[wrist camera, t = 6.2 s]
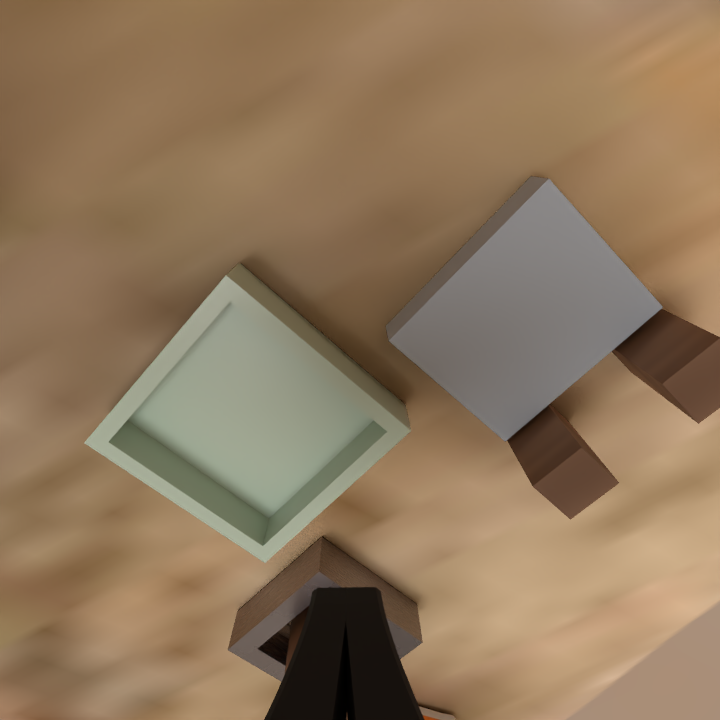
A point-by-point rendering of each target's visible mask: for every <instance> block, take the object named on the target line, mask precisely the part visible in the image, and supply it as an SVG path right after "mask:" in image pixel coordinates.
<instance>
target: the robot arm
mask: <svg viewBox="0 0 720 720" xmlns="http://www.w3.org/2000/svg"><path fill="white" fill-rule="evenodd" d="M347 718H348V720H425V719H424V717H423V715H422V713H421V710H420V708H419V706H418V703H417V701H416V699H415V696H414V694H413V691H412V689H411V686H410V684H409V681H408V679H407V676H406V674H405V671H404V669H403V666H402V664H401V661H400V658H399V655H398V653H397V650H396V647H395V644H394V641H393V638H392V635H391V632H390V628H389V625H388V622H387V618H386V614H385V610H384V606H383V601H382V595H381V591H380V590H379V589H378V588H376V587H333V588H316V589H315V590H314V591H313V592H312V595H311V600H310V605H309V608H308V612H307V615H306V619H305V622H304V625H303V628H302V631H301V634H300V637H299V639H298V642H297V645H296V648H295V650H294V653H293V655H292V658H291V660H290V663H289V665H288V668H287V670H286V672H285V675H284V677H283V680H282V682H281V685H280V687H279V689H278V692H277V694H276V696H275V698H274V700H273V703H272V705H271V707H270V709H269V711H268V713H267V715H266V717H265V719H264V720H346V719H347Z"/></svg>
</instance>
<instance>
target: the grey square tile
mask: <svg viewBox="0 0 720 720" xmlns="http://www.w3.org/2000/svg"><path fill="white" fill-rule="evenodd" d="M662 308H663V306H662V305H661V304H660V303H659V302H658V301H657V300H656V299H655V297H654V296H653V295H652V294H651V293H650V292H649V291H648V290H647V288H646V287H645V286H644V285H643V284H642V283H641V282H640V281H639V279H638V278H637V277H636V276H635V275H634V274H633V273H632V272H631V270H630V269H629V268H628V267H627V266H626V265H625V264H624V263H623V261H622V260H621V259H620V258H619V257H618V256H617V255H616V254H615V252H614V251H613V250H612V249H611V248H610V247H609V246H608V245H607V243H606V242H605V241H604V240H603V239H602V238H601V237H600V236H599V234H598V233H597V232H596V231H595V230H594V229H593V228H592V227H591V225H590V224H589V223H588V222H587V221H586V220H585V219H584V218H583V216H582V215H581V214H580V213H579V212H578V211H577V210H576V209H575V207H574V206H573V205H572V204H571V203H570V202H569V201H568V200H567V198H566V197H565V196H564V195H563V194H562V193H561V192H560V191H559V189H558V188H557V187H556V186H555V185H554V184H553V183H552V182H551V180H550V179H548V178H540V177H533V176H531V177H530V178H529V179H528V180H527V181H526V182H525V183H524V184H523V185H522V186H521V187H520V188H519V189H518V190H517V191H516V192H515V193H514V194H513V195H512V196H511V197H510V198H509V199H508V200H507V201H506V202H505V203H504V205H503V206H502V207H501V208H500V209H499V210H498V211H497V212H496V213H495V214H494V215H493V216H492V217H491V218H490V219H489V220H488V221H487V222H486V223H485V224H484V225H483V226H482V227H481V228H480V229H479V230H478V231H477V232H476V233H475V234H474V235H473V236H472V238H471V239H470V240H469V241H468V242H467V243H466V244H465V245H464V246H463V247H462V248H461V249H460V250H459V251H458V252H457V253H456V254H455V255H454V256H453V257H452V258H451V259H450V260H449V261H448V262H447V263H446V264H445V265H444V266H443V267H442V268H441V269H440V271H439V272H438V273H437V274H436V275H435V276H434V277H433V278H432V279H431V280H430V281H429V282H428V283H427V284H426V285H425V286H424V287H423V288H422V289H421V290H420V291H419V292H418V293H417V294H416V295H415V296H414V297H413V298H412V299H411V300H410V301H409V302H408V303H407V305H406V306H405V307H404V308H403V309H402V310H401V311H400V312H399V313H398V314H397V315H396V316H395V317H394V318H393V319H392V320H391V321H390V322H389V323H388V324H387V325H386V330H387V335H388V340H389V342H390V343H392V344H393V345H394V346H395V347H396V348H397V349H399V350H400V351H401V352H402V353H403V354H404V355H406V356H407V357H408V358H409V359H410V360H411V361H412V362H414V363H415V364H416V365H417V366H418V367H419V368H421V369H422V370H423V371H424V372H425V373H426V374H427V375H429V376H430V377H431V378H432V379H433V380H434V381H436V382H437V383H438V384H439V385H440V386H441V387H443V388H444V389H445V390H446V391H447V392H448V393H449V394H451V395H452V396H453V397H454V398H455V399H456V400H458V401H459V402H460V403H461V404H462V405H463V406H465V407H466V408H467V409H468V410H469V411H470V412H471V413H473V414H474V415H475V416H476V417H477V418H478V419H480V420H481V421H482V422H483V423H484V424H485V425H486V426H488V427H489V428H490V429H491V430H492V431H493V432H495V433H496V434H497V435H498V436H499V437H500V438H502V439H503V440H504V441H507V440H508V439H509V438H510V437H511V436H512V435H514V434H515V433H516V432H517V431H518V430H520V429H521V428H522V427H523V426H524V425H525V424H527V423H528V422H529V421H530V420H531V419H532V418H534V417H535V416H536V415H537V414H538V413H539V412H541V411H542V410H543V409H544V408H545V407H547V406H548V405H549V404H550V403H551V402H552V401H554V400H555V399H556V398H557V397H558V396H559V395H561V394H562V393H563V392H564V391H565V390H567V389H568V388H569V387H570V386H571V385H572V384H574V383H575V382H576V381H577V380H578V379H579V378H581V377H582V376H583V375H584V374H585V373H586V372H588V371H589V370H590V369H591V368H592V367H594V366H595V365H596V364H597V363H598V362H599V361H601V360H602V359H603V358H604V357H605V356H606V355H608V354H609V353H610V352H611V351H612V350H614V349H615V348H616V347H617V346H618V345H619V344H621V343H622V342H623V341H624V340H625V339H626V338H628V337H629V336H630V335H631V334H632V333H633V332H635V331H636V330H637V329H638V328H639V327H641V326H642V325H643V324H644V323H645V322H646V321H648V320H649V319H650V318H651V317H652V316H653V315H655V314H656V313H657V312H658V311H659V310H661V309H662Z"/></svg>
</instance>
